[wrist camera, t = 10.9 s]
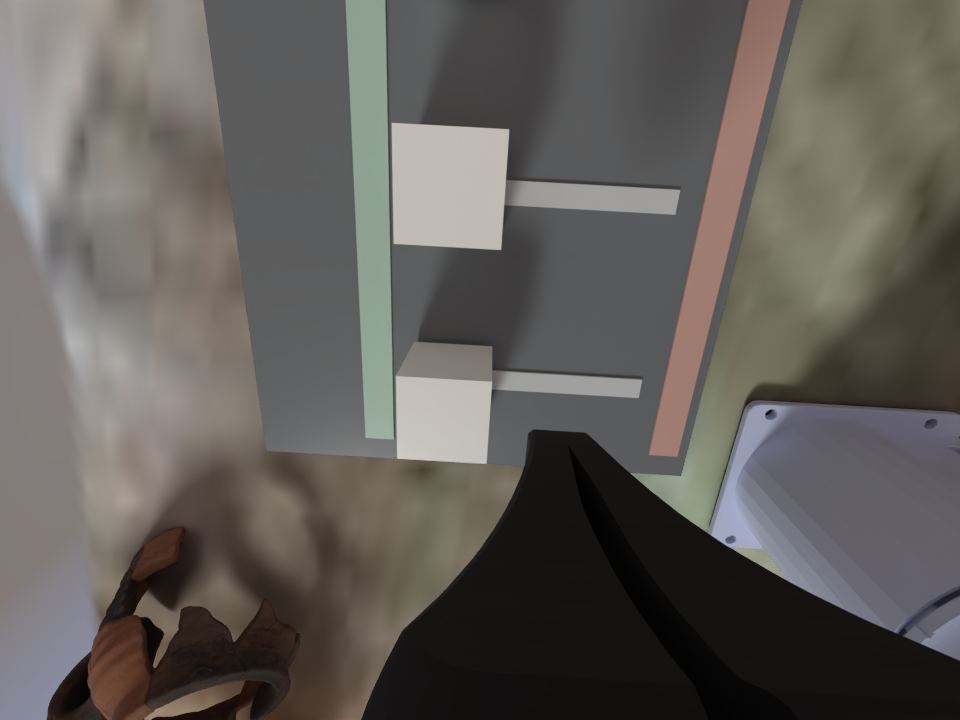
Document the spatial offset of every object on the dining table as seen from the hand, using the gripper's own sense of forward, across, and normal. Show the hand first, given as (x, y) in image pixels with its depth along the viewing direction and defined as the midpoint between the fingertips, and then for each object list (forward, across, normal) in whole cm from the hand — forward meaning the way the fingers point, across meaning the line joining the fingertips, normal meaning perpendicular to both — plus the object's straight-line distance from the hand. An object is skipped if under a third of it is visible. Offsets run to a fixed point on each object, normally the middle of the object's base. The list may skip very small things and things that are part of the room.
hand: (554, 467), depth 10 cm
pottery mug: (+10, +17, +17) cm, 25 cm away
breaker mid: (+7, +3, -6) cm, 10 cm away
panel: (+9, +2, -6) cm, 11 cm away
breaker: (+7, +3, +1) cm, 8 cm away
